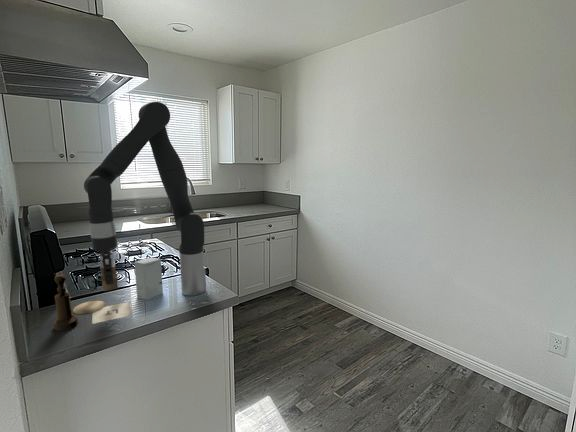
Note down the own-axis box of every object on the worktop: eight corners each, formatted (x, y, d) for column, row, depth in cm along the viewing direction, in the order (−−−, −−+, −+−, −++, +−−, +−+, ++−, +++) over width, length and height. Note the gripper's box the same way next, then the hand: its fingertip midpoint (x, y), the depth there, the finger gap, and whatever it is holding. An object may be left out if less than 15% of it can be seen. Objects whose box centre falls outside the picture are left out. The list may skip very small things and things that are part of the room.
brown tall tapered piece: (50, 327, 105) (43, 275, 102) (72, 319, 110) (66, 269, 107) (59, 333, 102) (52, 279, 98) (81, 325, 107) (75, 273, 104)
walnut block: (117, 284, 117) (114, 263, 115) (117, 288, 113) (115, 266, 111) (102, 286, 115) (100, 265, 113) (103, 291, 111) (100, 269, 109)
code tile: (129, 302, 123) (128, 301, 123) (131, 315, 113) (131, 315, 113) (92, 309, 117) (92, 309, 117) (92, 324, 107) (92, 323, 107)
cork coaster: (104, 300, 125) (104, 298, 125) (105, 310, 117) (105, 309, 117) (74, 305, 120) (73, 304, 120) (72, 317, 112) (72, 315, 112)
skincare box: (146, 300, 125) (143, 264, 122) (136, 297, 128) (133, 261, 125) (164, 293, 132) (161, 258, 129) (154, 290, 135) (151, 256, 132)
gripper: (117, 237, 106) (123, 286, 109) (114, 229, 118) (120, 273, 121) (90, 240, 102) (97, 291, 105) (91, 231, 114) (97, 277, 118)
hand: (109, 281), depth 113 cm, fingers closed on walnut block, 4 cm apart
